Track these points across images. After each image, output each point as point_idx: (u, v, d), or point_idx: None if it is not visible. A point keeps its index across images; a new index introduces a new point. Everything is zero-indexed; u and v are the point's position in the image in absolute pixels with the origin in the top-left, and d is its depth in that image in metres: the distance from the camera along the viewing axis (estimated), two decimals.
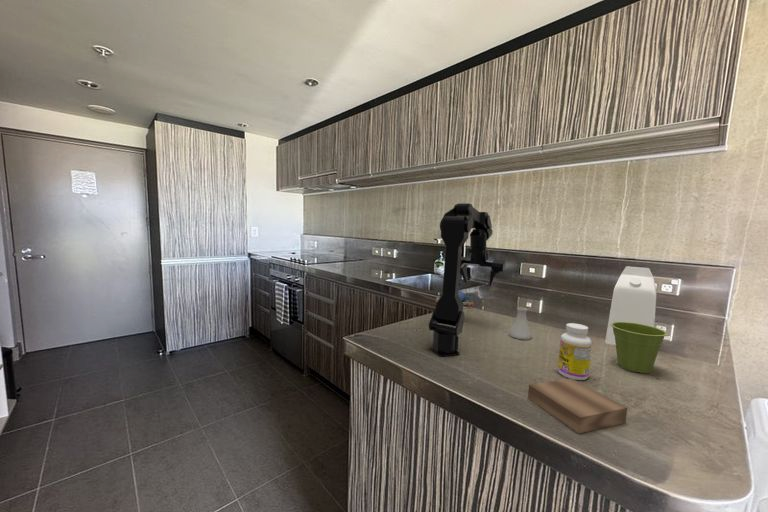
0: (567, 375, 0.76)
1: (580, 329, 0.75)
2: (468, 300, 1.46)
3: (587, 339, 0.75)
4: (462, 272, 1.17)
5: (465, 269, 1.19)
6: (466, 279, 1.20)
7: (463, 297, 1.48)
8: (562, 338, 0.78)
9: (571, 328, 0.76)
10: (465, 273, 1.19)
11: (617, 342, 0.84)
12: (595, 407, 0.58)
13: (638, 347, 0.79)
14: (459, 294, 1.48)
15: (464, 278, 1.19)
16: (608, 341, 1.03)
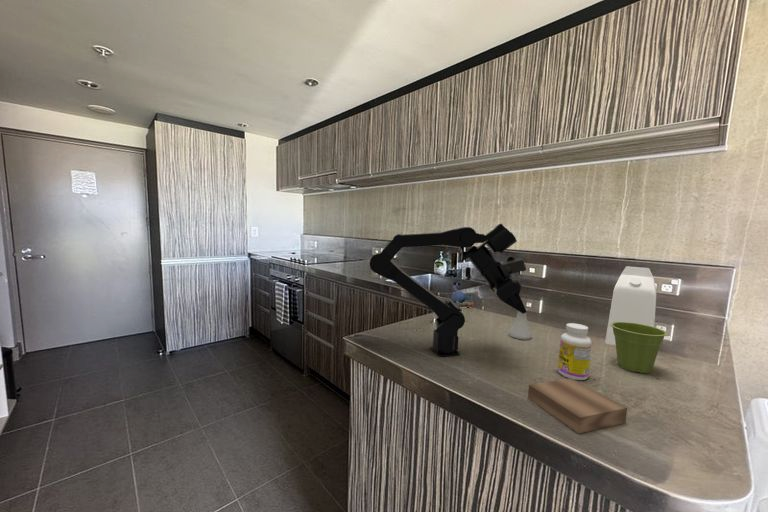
0: (567, 375, 0.76)
1: (580, 329, 0.75)
2: (468, 300, 1.46)
3: (587, 339, 0.75)
4: None
5: None
6: None
7: (463, 297, 1.48)
8: (562, 338, 0.78)
9: (571, 328, 0.76)
10: None
11: (617, 342, 0.84)
12: (595, 407, 0.58)
13: (638, 347, 0.79)
14: (459, 294, 1.48)
15: None
16: (608, 341, 1.03)
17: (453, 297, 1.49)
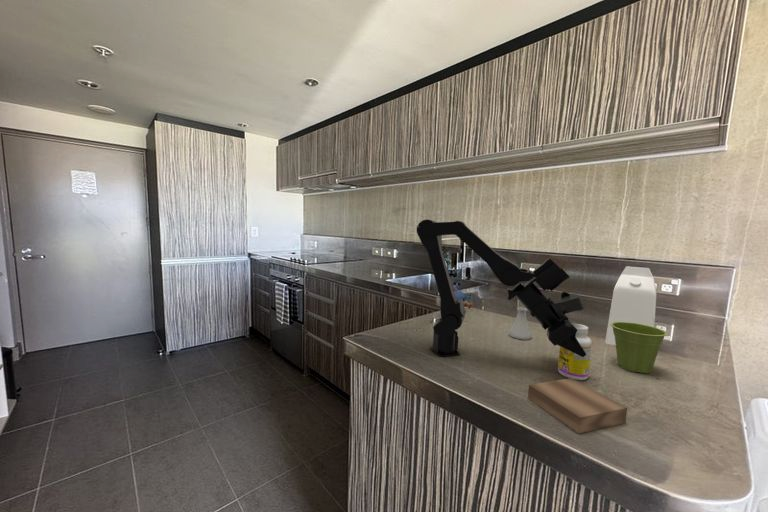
0: (567, 375, 0.76)
1: (580, 329, 0.75)
2: (467, 300, 1.47)
3: (587, 339, 0.75)
4: None
5: None
6: None
7: (462, 297, 1.49)
8: None
9: None
10: None
11: (617, 342, 0.84)
12: (595, 407, 0.58)
13: (638, 347, 0.79)
14: (458, 294, 1.49)
15: None
16: (608, 341, 1.03)
17: None
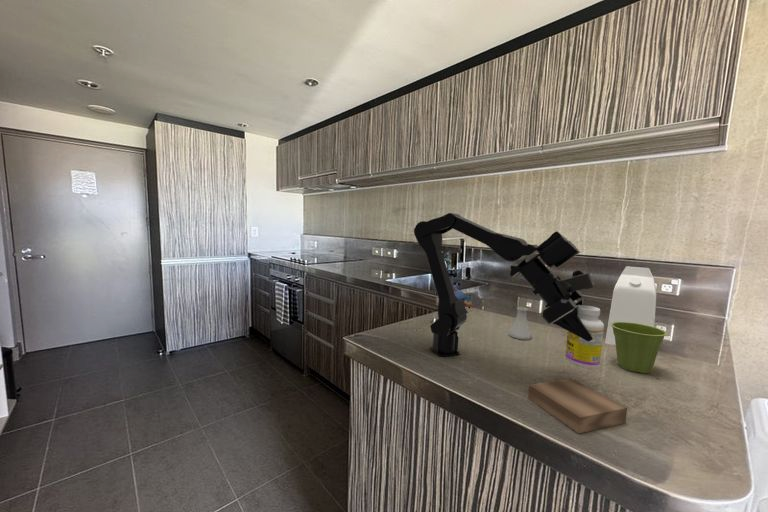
0: (572, 361, 0.68)
1: (588, 310, 0.66)
2: (466, 300, 1.47)
3: (597, 322, 0.66)
4: None
5: None
6: None
7: (462, 297, 1.49)
8: None
9: None
10: None
11: (617, 342, 0.84)
12: (595, 407, 0.58)
13: (638, 347, 0.79)
14: (458, 293, 1.49)
15: None
16: (608, 341, 1.03)
17: None
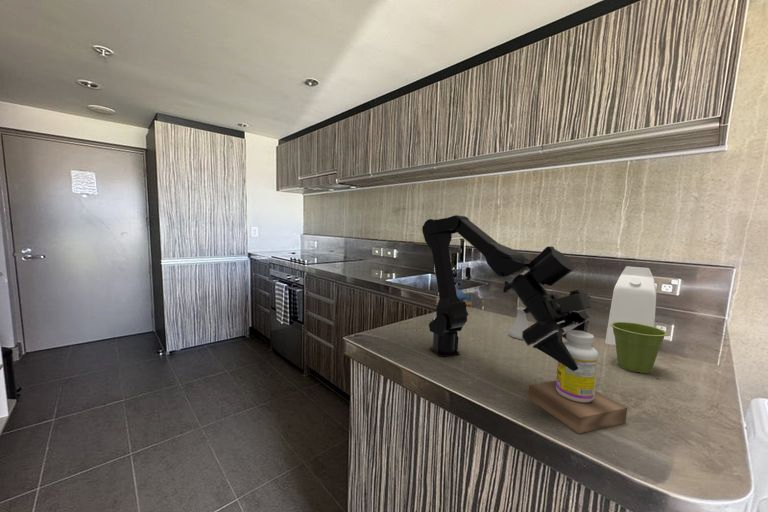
0: (559, 391, 0.62)
1: (576, 336, 0.60)
2: (466, 300, 1.47)
3: (586, 351, 0.59)
4: None
5: None
6: None
7: (462, 296, 1.49)
8: None
9: (567, 334, 0.61)
10: None
11: (617, 342, 0.84)
12: (595, 407, 0.58)
13: (638, 347, 0.79)
14: (458, 293, 1.50)
15: None
16: (608, 341, 1.03)
17: None
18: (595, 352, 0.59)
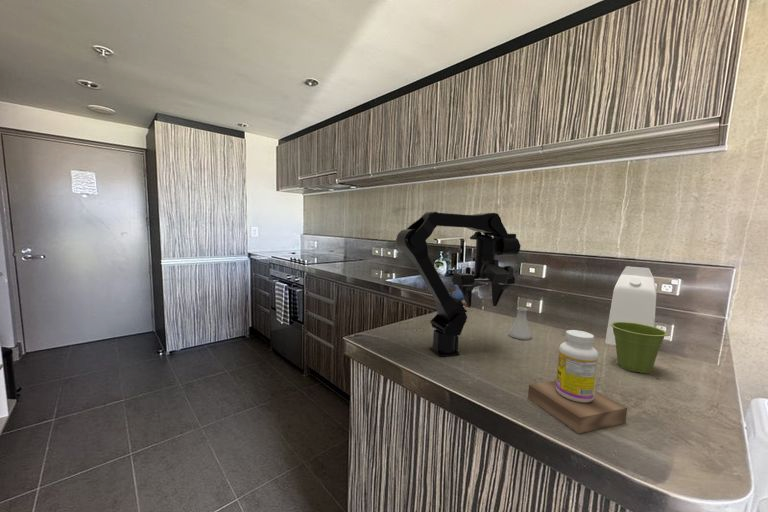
0: (559, 391, 0.62)
1: (576, 337, 0.60)
2: None
3: (586, 351, 0.59)
4: None
5: (497, 288, 0.94)
6: (493, 300, 0.94)
7: (462, 296, 1.50)
8: None
9: (567, 334, 0.61)
10: (494, 292, 0.94)
11: (617, 342, 0.84)
12: (595, 407, 0.58)
13: (638, 347, 0.79)
14: (457, 293, 1.51)
15: None
16: (608, 341, 1.03)
17: (452, 295, 1.53)
18: (595, 352, 0.59)
